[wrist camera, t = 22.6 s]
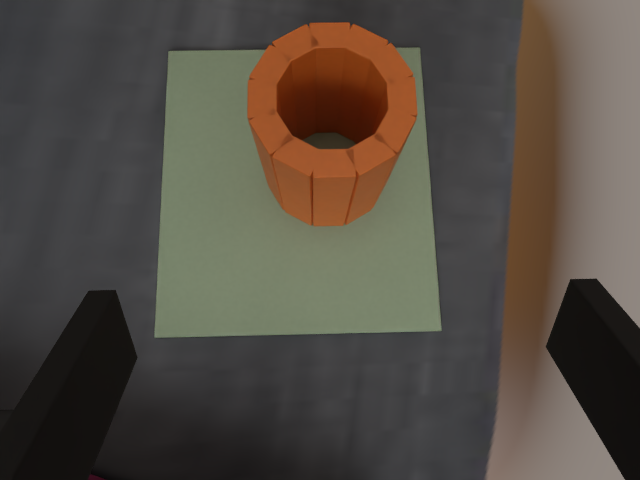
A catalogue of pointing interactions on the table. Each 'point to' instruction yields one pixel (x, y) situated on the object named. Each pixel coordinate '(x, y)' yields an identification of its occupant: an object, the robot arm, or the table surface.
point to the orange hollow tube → (330, 119)
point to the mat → (280, 225)
